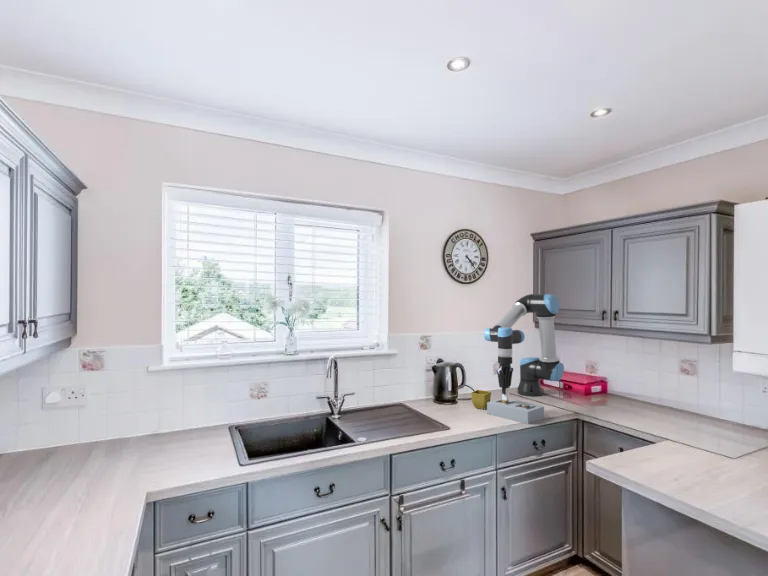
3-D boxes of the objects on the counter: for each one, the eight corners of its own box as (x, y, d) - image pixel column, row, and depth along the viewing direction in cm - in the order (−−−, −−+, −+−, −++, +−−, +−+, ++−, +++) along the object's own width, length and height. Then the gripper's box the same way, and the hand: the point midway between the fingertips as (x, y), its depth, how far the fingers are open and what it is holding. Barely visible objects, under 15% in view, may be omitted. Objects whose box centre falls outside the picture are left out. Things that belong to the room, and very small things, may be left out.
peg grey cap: (524, 415, 222) (524, 403, 222) (530, 417, 219) (530, 405, 219) (520, 417, 219) (520, 404, 219) (526, 418, 217) (526, 406, 217)
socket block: (504, 408, 238) (503, 397, 238) (544, 417, 220) (544, 405, 220) (487, 413, 227) (487, 402, 228) (527, 424, 209) (527, 411, 209)
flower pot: (485, 411, 233) (485, 394, 233) (470, 408, 238) (470, 392, 238) (491, 407, 240) (491, 391, 240) (477, 405, 245) (477, 389, 245)
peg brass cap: (504, 410, 231) (504, 399, 231) (510, 412, 228) (510, 400, 228) (500, 412, 228) (500, 400, 228) (506, 413, 226) (506, 401, 226)
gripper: (505, 354, 236) (505, 396, 235) (492, 356, 227) (492, 400, 227) (517, 355, 230) (517, 399, 230) (504, 358, 221) (504, 403, 221)
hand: (505, 399), depth 228 cm, fingers closed
